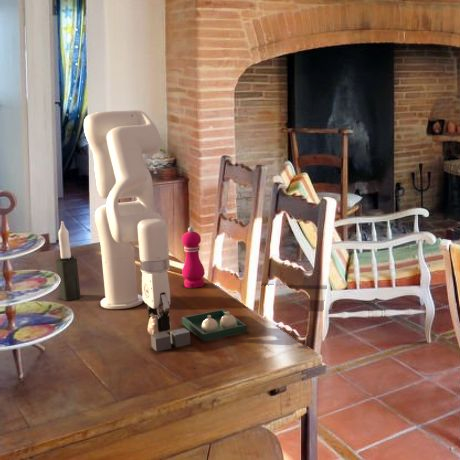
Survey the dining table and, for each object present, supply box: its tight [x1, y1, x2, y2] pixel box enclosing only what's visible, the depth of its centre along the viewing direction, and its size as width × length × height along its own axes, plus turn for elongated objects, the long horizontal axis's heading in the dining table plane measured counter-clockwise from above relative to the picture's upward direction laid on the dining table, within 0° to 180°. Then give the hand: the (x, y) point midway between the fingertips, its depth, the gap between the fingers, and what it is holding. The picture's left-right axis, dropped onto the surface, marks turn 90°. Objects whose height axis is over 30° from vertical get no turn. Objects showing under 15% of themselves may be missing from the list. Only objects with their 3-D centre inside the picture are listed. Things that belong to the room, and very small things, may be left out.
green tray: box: [181, 308, 248, 342], centre depth 227 cm, size 17×13×3 cm
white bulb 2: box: [220, 310, 236, 329], centre depth 225 cm, size 4×4×5 cm
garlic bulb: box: [147, 313, 172, 336], centre depth 220 cm, size 7×6×8 cm
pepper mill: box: [181, 226, 206, 289], centre depth 265 cm, size 7×7×20 cm
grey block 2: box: [169, 327, 191, 348], centre depth 215 cm, size 4×4×4 cm
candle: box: [55, 220, 81, 302], centre depth 251 cm, size 5×5×25 cm
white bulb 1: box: [202, 315, 218, 333], centre depth 222 cm, size 4×4×5 cm
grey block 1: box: [150, 332, 172, 352], centre depth 212 cm, size 4×4×4 cm
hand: (159, 325), depth 220 cm, fingers closed on garlic bulb, 6 cm apart
